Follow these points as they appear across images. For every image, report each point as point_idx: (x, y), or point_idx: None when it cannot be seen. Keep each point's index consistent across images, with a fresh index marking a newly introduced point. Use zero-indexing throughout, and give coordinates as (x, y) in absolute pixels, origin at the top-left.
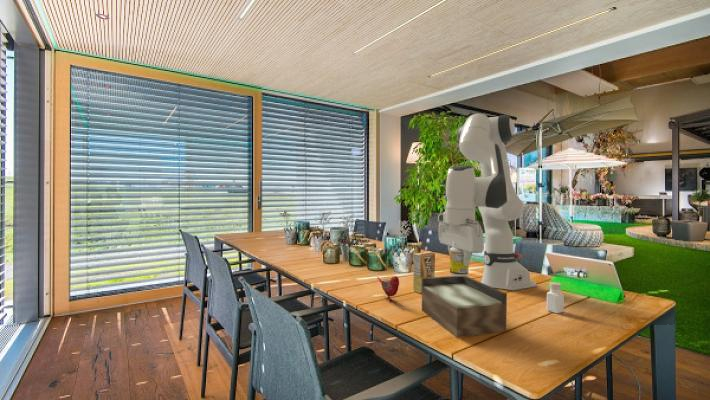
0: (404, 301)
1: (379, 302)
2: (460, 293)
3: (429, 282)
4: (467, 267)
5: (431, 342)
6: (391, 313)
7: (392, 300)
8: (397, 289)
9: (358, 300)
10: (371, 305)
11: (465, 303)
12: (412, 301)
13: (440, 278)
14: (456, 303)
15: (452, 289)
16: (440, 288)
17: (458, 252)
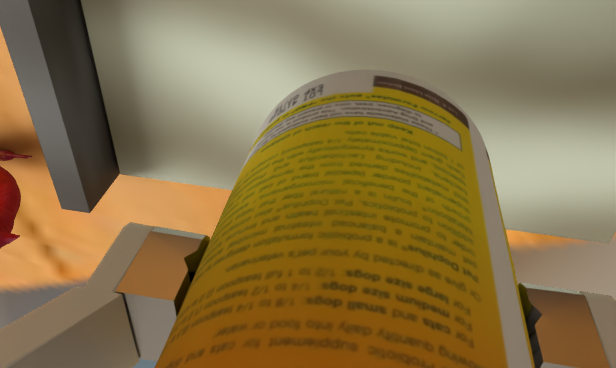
0: (10, 93)
1: (34, 204)
2: (375, 38)
3: (93, 149)
4: (500, 208)
5: (533, 244)
6: (186, 223)
7: (20, 157)
8: (10, 199)
9: (12, 259)
10: (77, 245)
11: (605, 166)
12: (6, 51)
13: (52, 67)
14: (562, 215)
15: (241, 28)
16: (194, 104)
17: None
